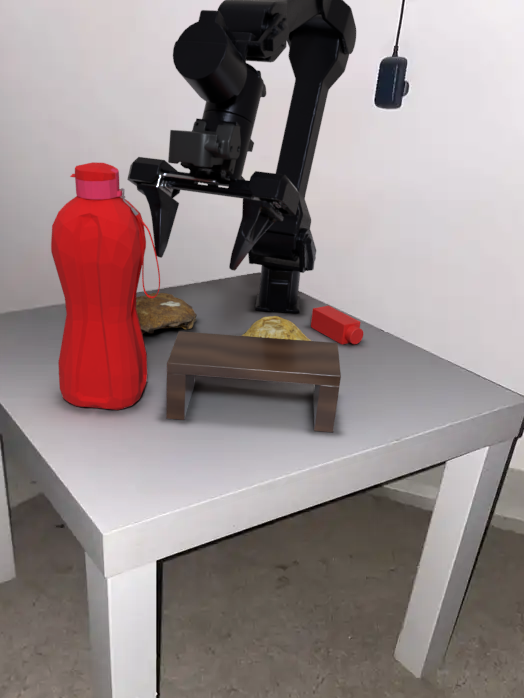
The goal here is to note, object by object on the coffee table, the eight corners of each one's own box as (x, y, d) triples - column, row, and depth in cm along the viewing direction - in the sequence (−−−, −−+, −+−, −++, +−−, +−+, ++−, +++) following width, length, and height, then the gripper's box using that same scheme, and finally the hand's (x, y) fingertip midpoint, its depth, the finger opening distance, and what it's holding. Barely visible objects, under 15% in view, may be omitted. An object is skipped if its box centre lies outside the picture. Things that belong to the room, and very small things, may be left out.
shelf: (177, 383, 92) (178, 331, 88) (330, 395, 90) (337, 342, 86) (166, 418, 84) (166, 362, 81) (333, 432, 82) (341, 376, 79)
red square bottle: (310, 327, 108) (312, 308, 107) (326, 324, 110) (328, 305, 108) (347, 348, 102) (350, 328, 101) (363, 344, 103) (366, 324, 102)
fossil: (285, 328, 91) (223, 307, 97) (274, 377, 93) (214, 353, 99) (337, 328, 99) (277, 309, 105) (326, 373, 101) (267, 351, 107)
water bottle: (151, 418, 84) (151, 177, 71) (53, 409, 85) (36, 170, 72) (165, 382, 92) (168, 159, 79) (76, 374, 93) (64, 153, 80)
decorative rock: (125, 357, 99) (210, 334, 107) (126, 327, 96) (213, 306, 105) (74, 326, 105) (158, 307, 114) (74, 298, 103) (160, 280, 112)
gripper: (120, 82, 81) (87, 231, 82) (287, 96, 74) (247, 258, 75) (165, 125, 91) (135, 256, 93) (315, 140, 84) (280, 282, 86)
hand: (194, 263), depth 86 cm, fingers open, 9 cm apart
